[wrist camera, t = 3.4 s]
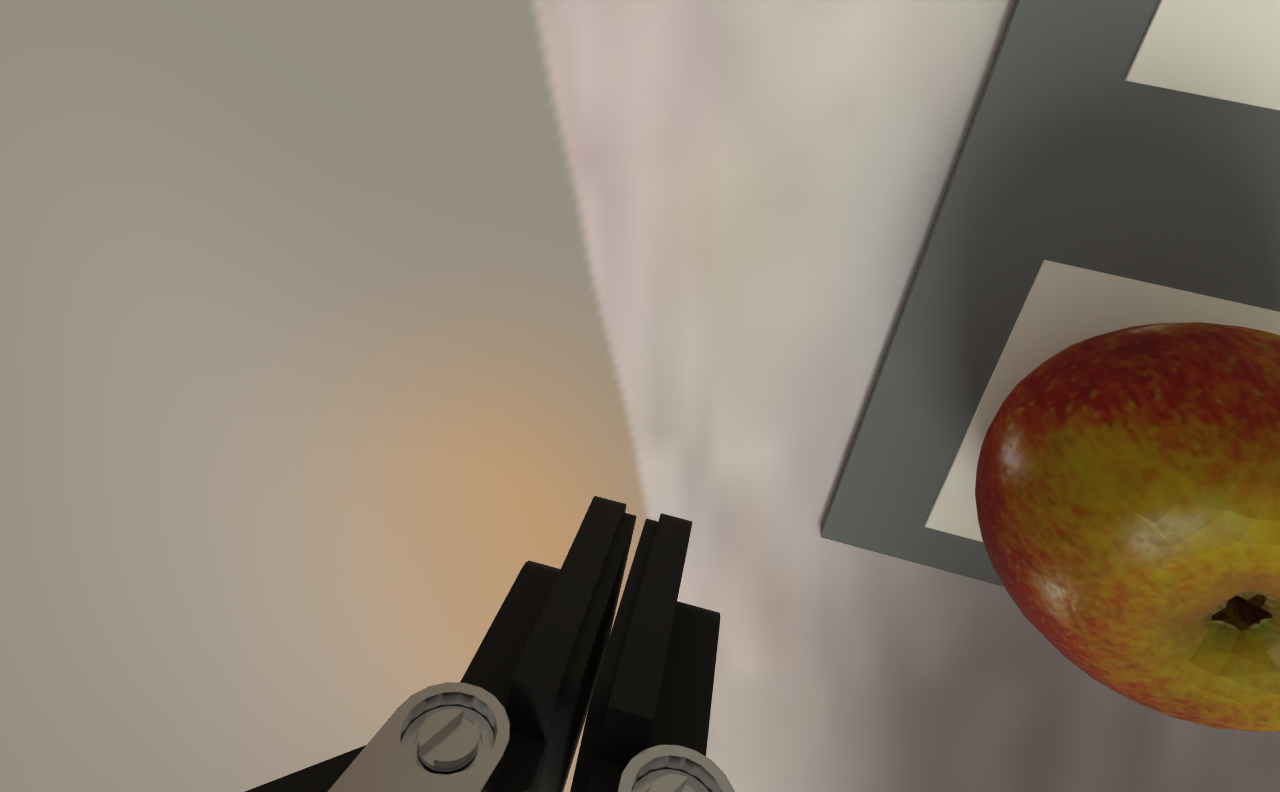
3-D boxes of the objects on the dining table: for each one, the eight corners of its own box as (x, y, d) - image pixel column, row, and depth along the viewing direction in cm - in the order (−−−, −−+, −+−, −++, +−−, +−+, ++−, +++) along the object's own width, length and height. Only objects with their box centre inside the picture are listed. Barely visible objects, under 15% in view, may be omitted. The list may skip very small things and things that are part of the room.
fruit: (880, 458, 22) (926, 639, 15) (1116, 216, 18) (1336, 301, 11) (1120, 619, 22) (1275, 868, 15) (1399, 419, 18) (1788, 629, 11)
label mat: (1240, -606, 13) (1254, -628, 12) (2150, -519, 11) (2200, -541, 11) (820, 532, 24) (820, 539, 23) (1246, 646, 22) (1253, 656, 22)
